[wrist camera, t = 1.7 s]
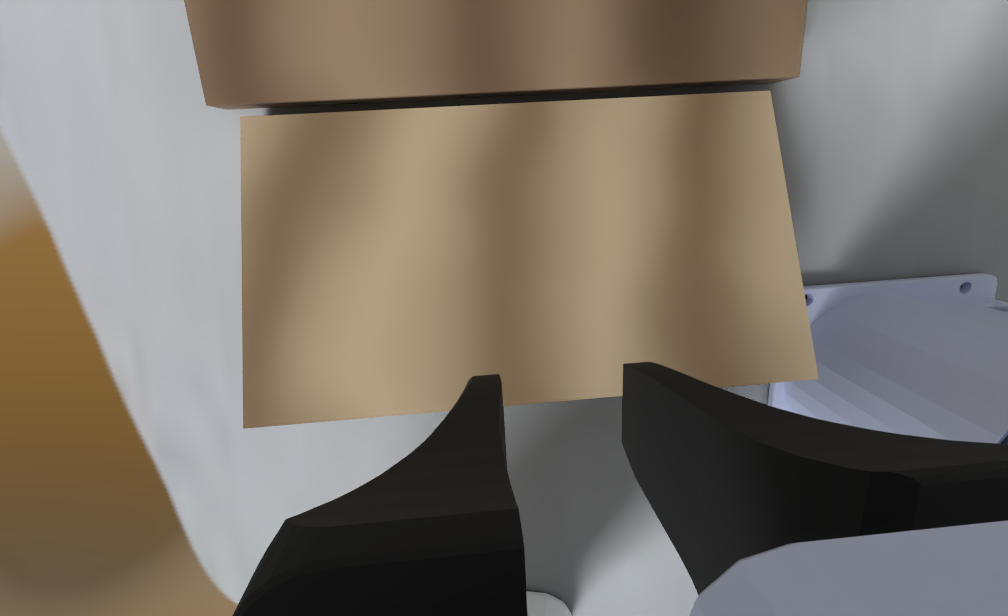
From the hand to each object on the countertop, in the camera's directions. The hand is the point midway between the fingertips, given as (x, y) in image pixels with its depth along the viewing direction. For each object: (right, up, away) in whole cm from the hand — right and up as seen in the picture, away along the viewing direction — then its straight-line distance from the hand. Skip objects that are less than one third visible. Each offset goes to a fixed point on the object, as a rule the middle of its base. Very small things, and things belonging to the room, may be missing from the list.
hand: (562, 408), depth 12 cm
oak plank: (-1, +4, +6) cm, 7 cm away
